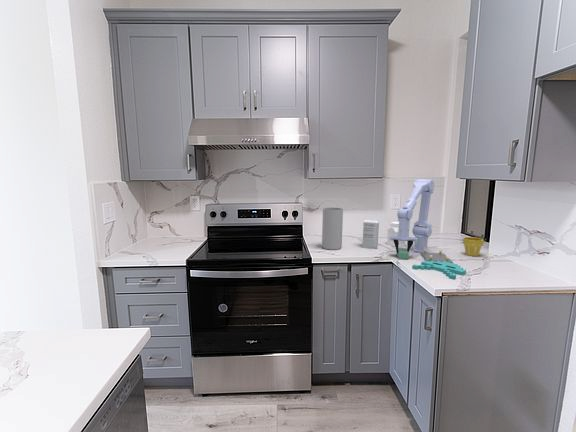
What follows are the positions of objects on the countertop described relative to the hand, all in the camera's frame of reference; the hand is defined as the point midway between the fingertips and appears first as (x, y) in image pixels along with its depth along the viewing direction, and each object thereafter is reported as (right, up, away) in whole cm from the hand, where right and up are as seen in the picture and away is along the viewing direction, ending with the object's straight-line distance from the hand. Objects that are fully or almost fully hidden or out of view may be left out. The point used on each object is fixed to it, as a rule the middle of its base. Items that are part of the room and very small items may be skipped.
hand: (402, 253), depth 175 cm
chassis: (+18, -3, -3) cm, 18 cm away
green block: (0, -2, 0) cm, 2 cm away
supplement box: (-12, +1, +23) cm, 26 cm away
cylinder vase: (-38, +1, +20) cm, 43 cm away
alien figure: (+11, -6, -22) cm, 26 cm away
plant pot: (+43, -2, +6) cm, 44 cm away
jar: (+6, +2, +28) cm, 29 cm away
